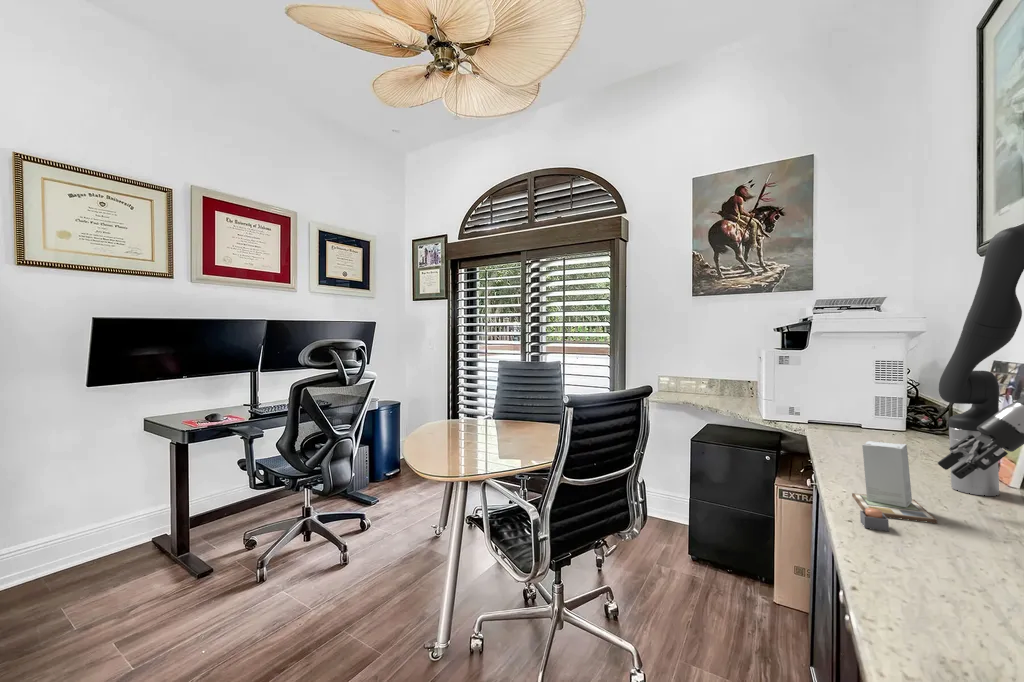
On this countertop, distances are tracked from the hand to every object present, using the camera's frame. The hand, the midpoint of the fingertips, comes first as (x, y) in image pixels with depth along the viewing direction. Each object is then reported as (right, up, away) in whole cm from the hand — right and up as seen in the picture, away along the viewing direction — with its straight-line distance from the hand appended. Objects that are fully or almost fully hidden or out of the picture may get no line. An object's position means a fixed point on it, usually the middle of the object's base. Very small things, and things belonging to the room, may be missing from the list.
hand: (948, 471), depth 108 cm
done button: (-24, -9, -7) cm, 26 cm away
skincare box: (-10, -10, +6) cm, 15 cm away
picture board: (-11, -10, +3) cm, 16 cm away
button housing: (-24, -11, -7) cm, 27 cm away
